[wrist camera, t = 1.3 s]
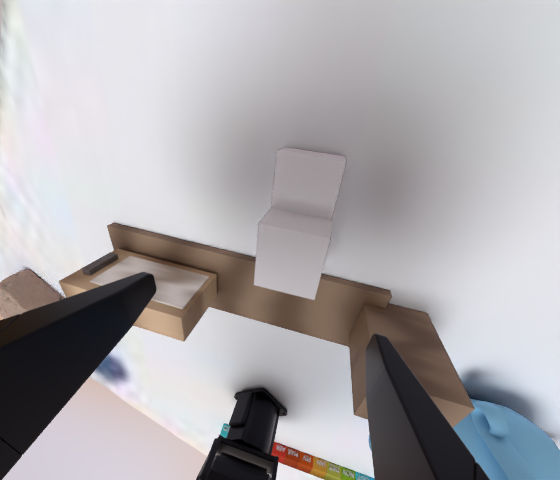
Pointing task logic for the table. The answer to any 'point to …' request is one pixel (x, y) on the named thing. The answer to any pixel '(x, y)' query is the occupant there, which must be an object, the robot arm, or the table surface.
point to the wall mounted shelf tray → (169, 295)
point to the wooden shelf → (319, 315)
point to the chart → (309, 463)
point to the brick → (25, 293)
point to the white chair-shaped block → (298, 221)
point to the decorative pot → (507, 444)
